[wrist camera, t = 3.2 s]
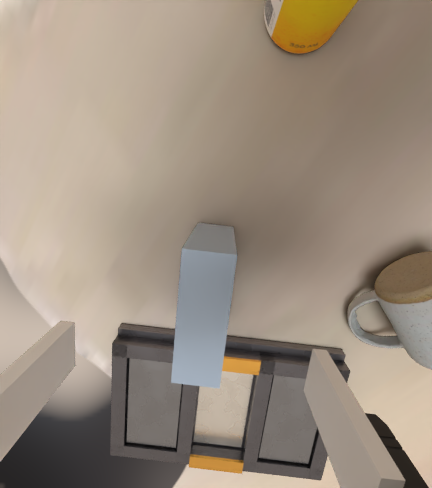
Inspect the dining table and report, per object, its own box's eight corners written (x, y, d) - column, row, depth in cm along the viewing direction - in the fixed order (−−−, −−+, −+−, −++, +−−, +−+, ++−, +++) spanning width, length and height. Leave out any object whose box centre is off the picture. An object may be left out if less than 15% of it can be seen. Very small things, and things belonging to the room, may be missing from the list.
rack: (121, 323, 30) (111, 338, 27) (341, 349, 29) (353, 366, 27) (118, 439, 34) (109, 462, 31) (312, 462, 33) (320, 488, 31)
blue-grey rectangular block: (198, 222, 27) (181, 248, 17) (233, 226, 27) (237, 255, 17) (189, 314, 29) (171, 382, 19) (221, 318, 29) (219, 388, 19)
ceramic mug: (422, 237, 26) (498, 262, 19) (460, 300, 28) (544, 347, 20) (326, 295, 28) (360, 338, 21) (366, 352, 30) (411, 411, 22)
